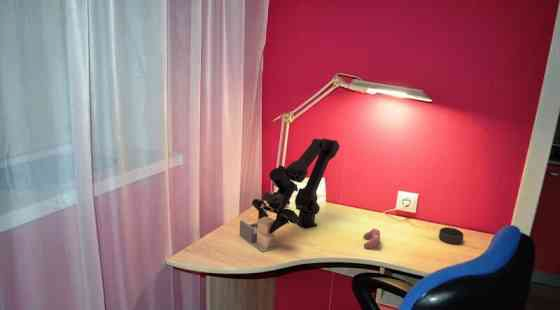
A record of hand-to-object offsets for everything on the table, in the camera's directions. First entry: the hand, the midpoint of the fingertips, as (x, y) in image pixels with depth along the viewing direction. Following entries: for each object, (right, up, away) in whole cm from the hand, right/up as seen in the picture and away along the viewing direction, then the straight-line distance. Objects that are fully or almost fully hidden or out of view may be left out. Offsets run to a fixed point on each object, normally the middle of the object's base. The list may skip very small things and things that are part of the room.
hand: (263, 230), depth 143 cm
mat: (+1, -6, +3) cm, 7 cm away
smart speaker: (+74, -7, +16) cm, 76 cm away
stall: (-3, -4, +10) cm, 11 cm away
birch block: (+1, -6, +2) cm, 6 cm away
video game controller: (+41, -7, +9) cm, 42 cm away
